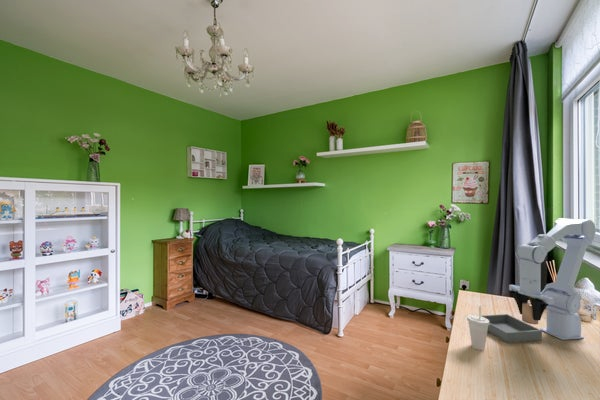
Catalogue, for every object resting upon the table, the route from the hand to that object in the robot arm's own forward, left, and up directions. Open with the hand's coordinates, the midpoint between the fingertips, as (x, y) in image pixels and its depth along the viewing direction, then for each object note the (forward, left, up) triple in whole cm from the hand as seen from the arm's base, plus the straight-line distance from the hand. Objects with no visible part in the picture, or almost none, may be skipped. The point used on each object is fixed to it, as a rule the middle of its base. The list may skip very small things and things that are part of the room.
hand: (529, 316), depth 97 cm
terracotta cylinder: (0, 0, -2) cm, 2 cm away
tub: (+3, -7, -8) cm, 11 cm away
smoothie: (+22, +1, -9) cm, 23 cm away
